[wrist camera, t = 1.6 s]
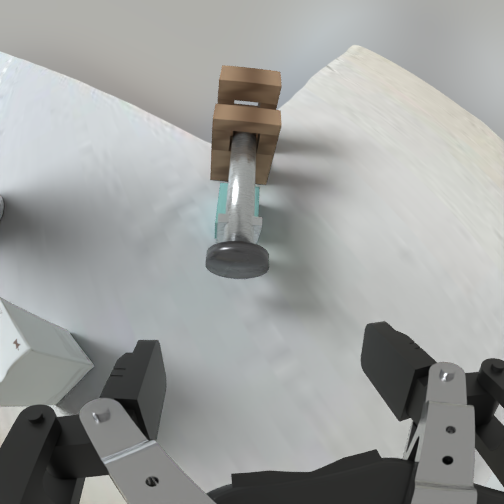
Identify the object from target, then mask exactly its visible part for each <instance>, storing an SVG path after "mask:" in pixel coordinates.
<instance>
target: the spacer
mask: <svg viewBox="0 0 504 504" xmlns="http://www.w3.org/2000/svg"><path fill="white" fill-rule="evenodd" d="M227 189H228V184H227V183H220V190H219V197H218V205H217V213H216V221H215V238H216V239H217V224H218V213H221V214H225V213H226V201H227ZM258 211H259V187H256V186H255V213H254V216H256V217H258Z"/></svg>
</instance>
